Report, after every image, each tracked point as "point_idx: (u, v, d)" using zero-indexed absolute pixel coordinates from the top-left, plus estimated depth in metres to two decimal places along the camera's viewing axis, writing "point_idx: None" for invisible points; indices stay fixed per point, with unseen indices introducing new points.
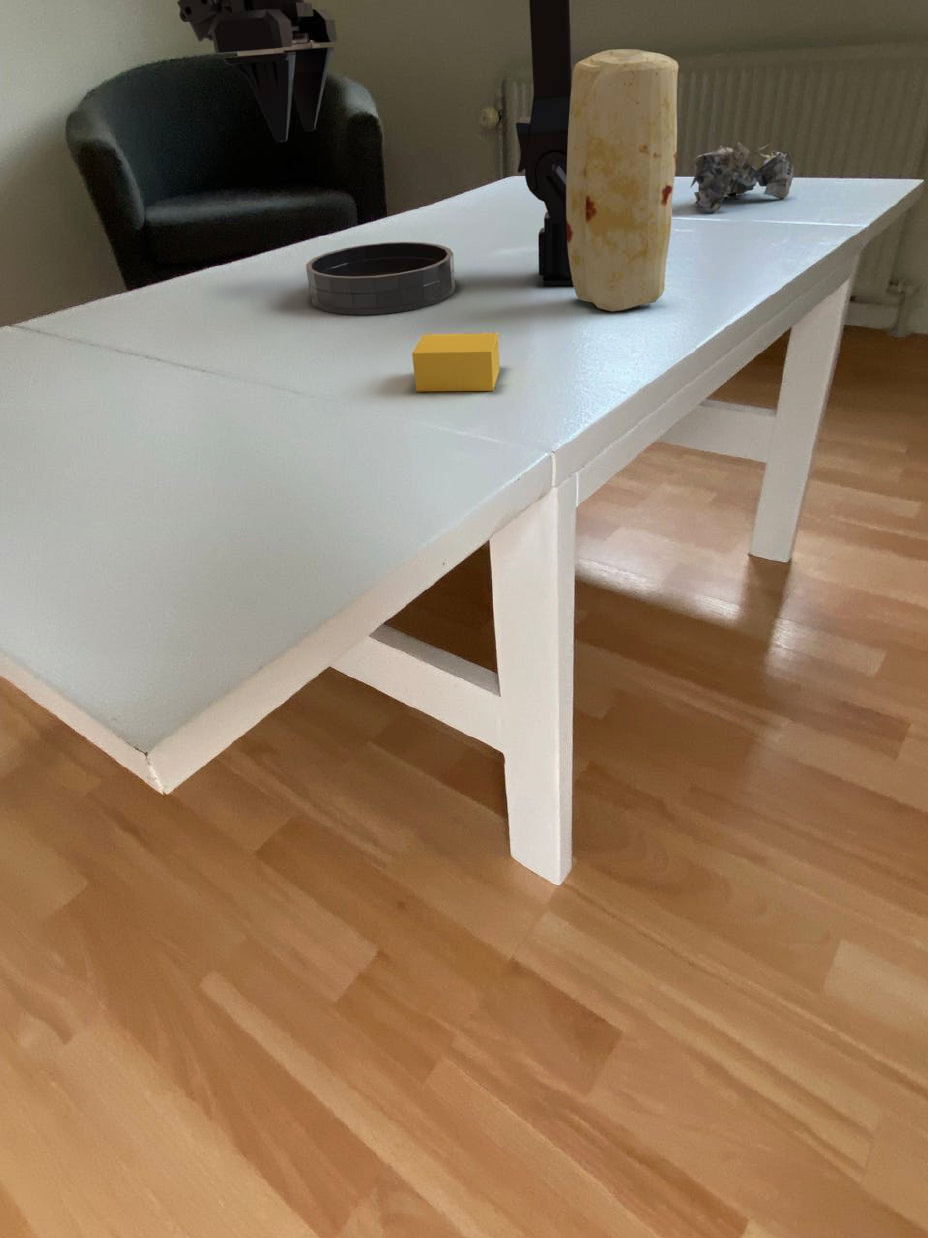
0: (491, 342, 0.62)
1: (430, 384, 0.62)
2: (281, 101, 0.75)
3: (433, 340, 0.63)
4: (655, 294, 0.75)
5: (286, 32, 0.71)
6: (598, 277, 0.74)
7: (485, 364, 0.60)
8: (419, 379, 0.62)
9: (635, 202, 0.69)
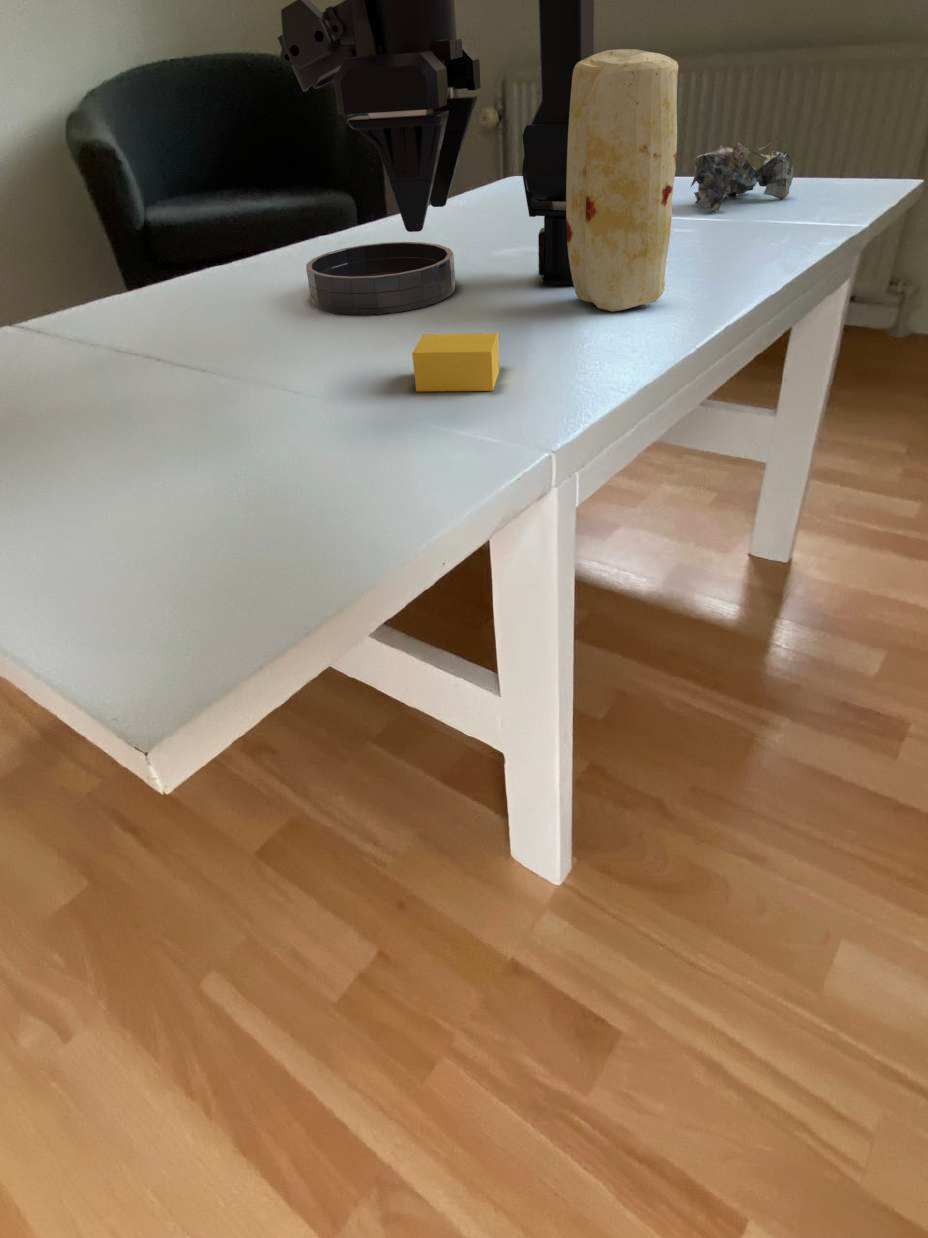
0: (491, 342, 0.62)
1: (430, 384, 0.62)
2: (422, 179, 0.53)
3: (433, 340, 0.63)
4: (655, 294, 0.75)
5: (442, 85, 0.48)
6: (598, 277, 0.74)
7: (485, 364, 0.60)
8: (419, 379, 0.62)
9: (635, 202, 0.69)
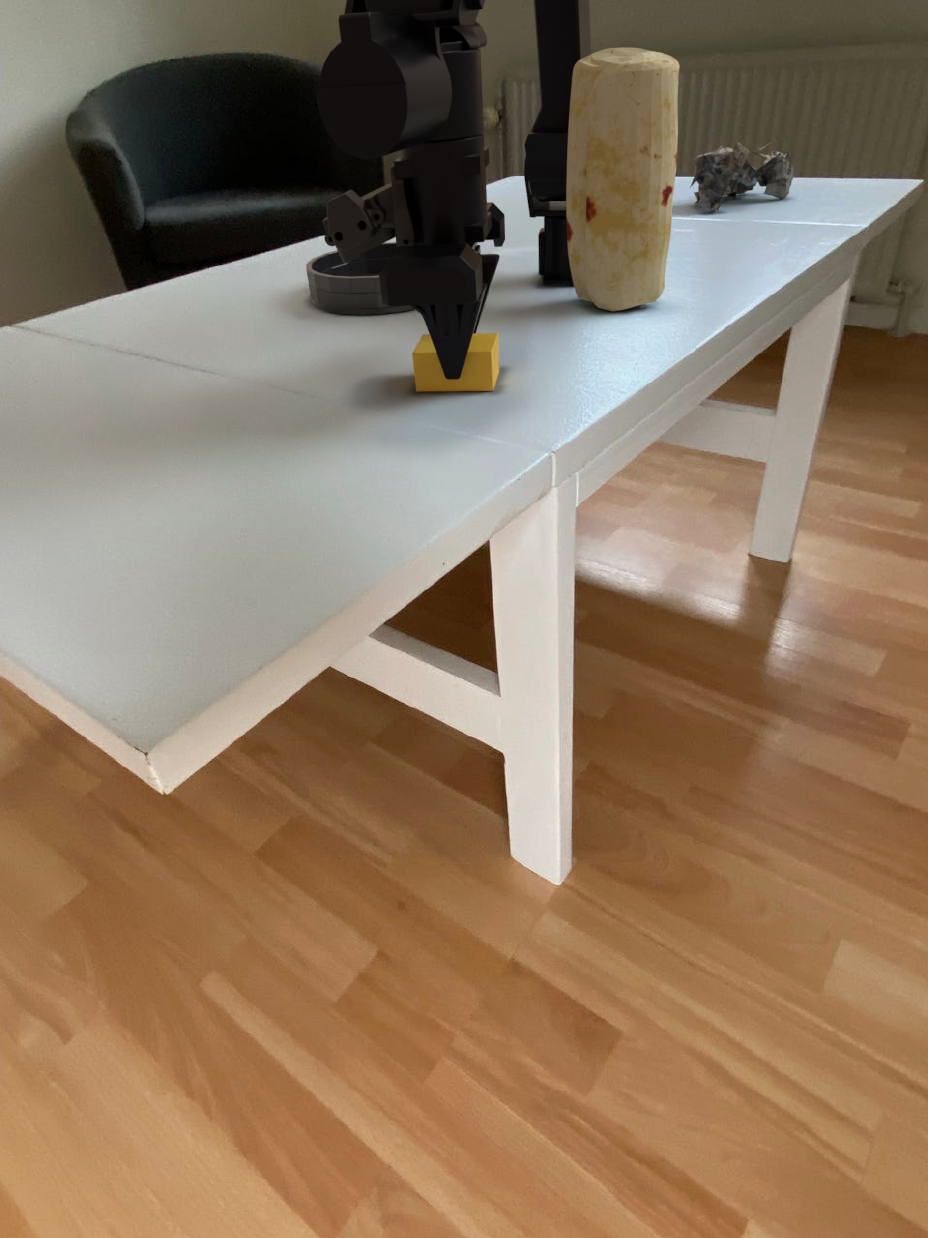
0: (491, 342, 0.62)
1: (430, 384, 0.62)
2: (461, 339, 0.58)
3: None
4: (655, 294, 0.75)
5: (479, 277, 0.52)
6: (598, 277, 0.74)
7: (485, 364, 0.60)
8: (419, 379, 0.62)
9: (635, 203, 0.69)
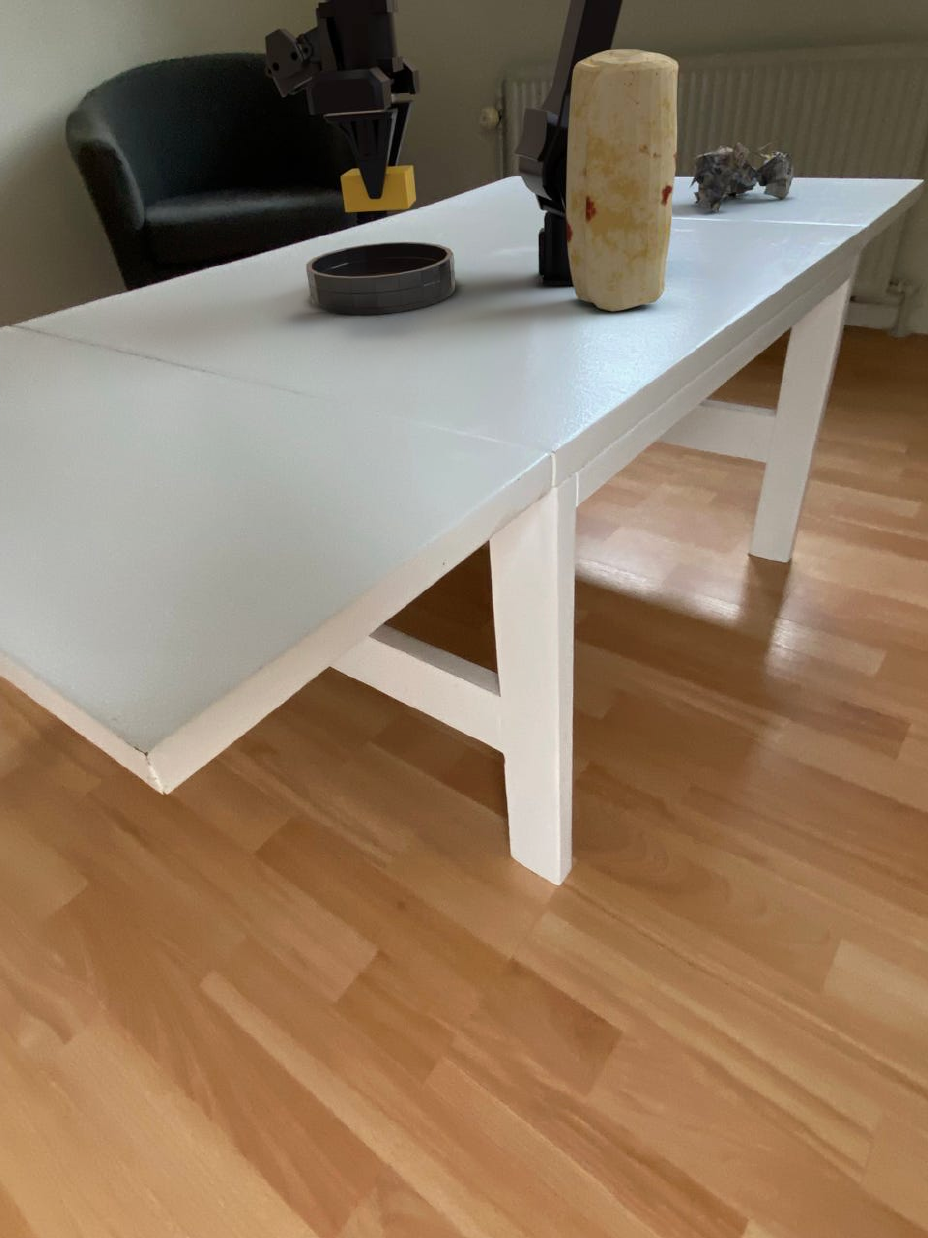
0: (406, 168, 0.75)
1: (356, 205, 0.75)
2: (379, 159, 0.72)
3: None
4: (655, 294, 0.75)
5: (387, 92, 0.66)
6: (598, 277, 0.74)
7: (400, 184, 0.74)
8: (347, 200, 0.75)
9: (635, 202, 0.69)
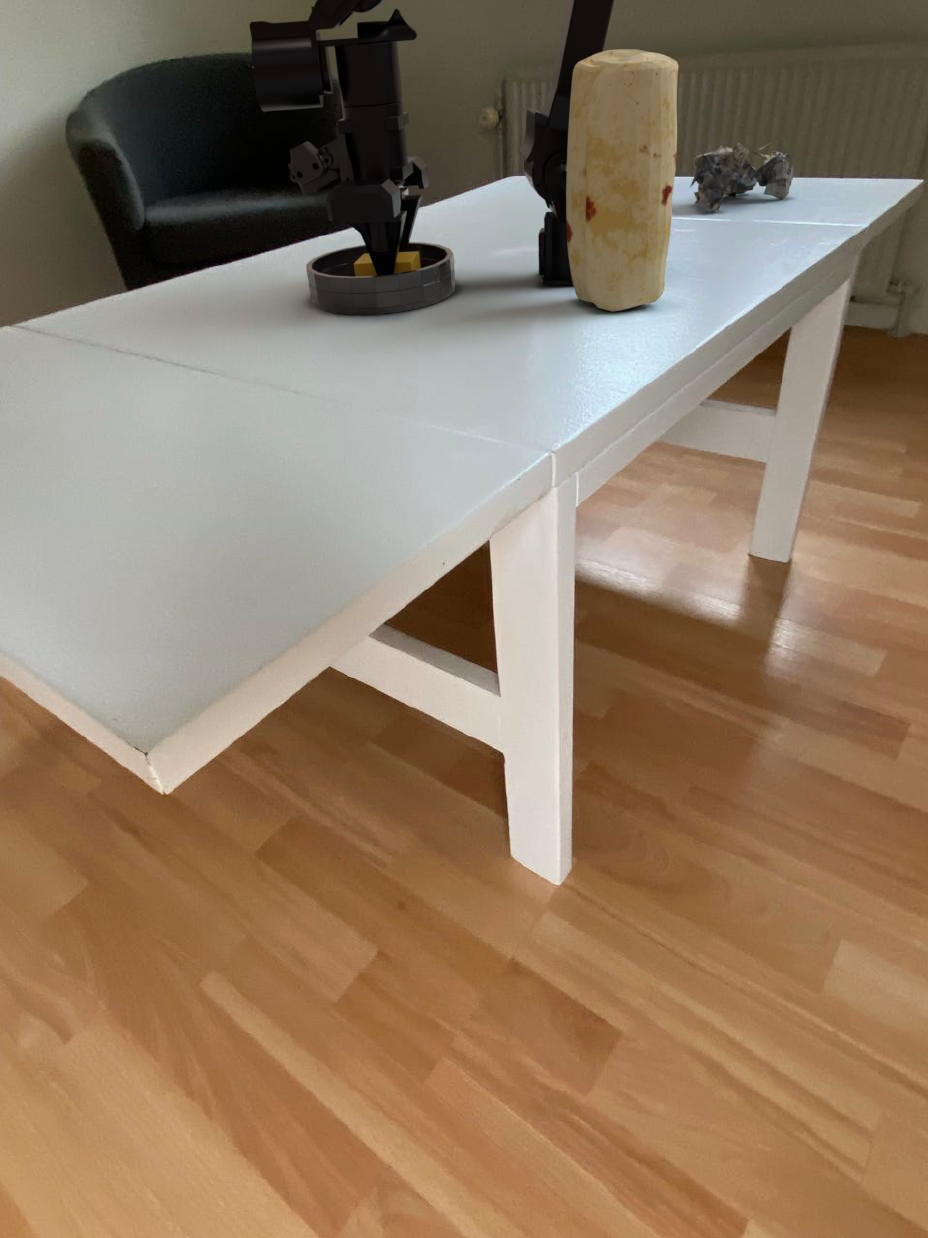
0: (412, 256, 0.83)
1: None
2: (390, 252, 0.80)
3: None
4: (655, 294, 0.75)
5: (396, 201, 0.74)
6: (598, 277, 0.74)
7: None
8: None
9: (635, 202, 0.69)
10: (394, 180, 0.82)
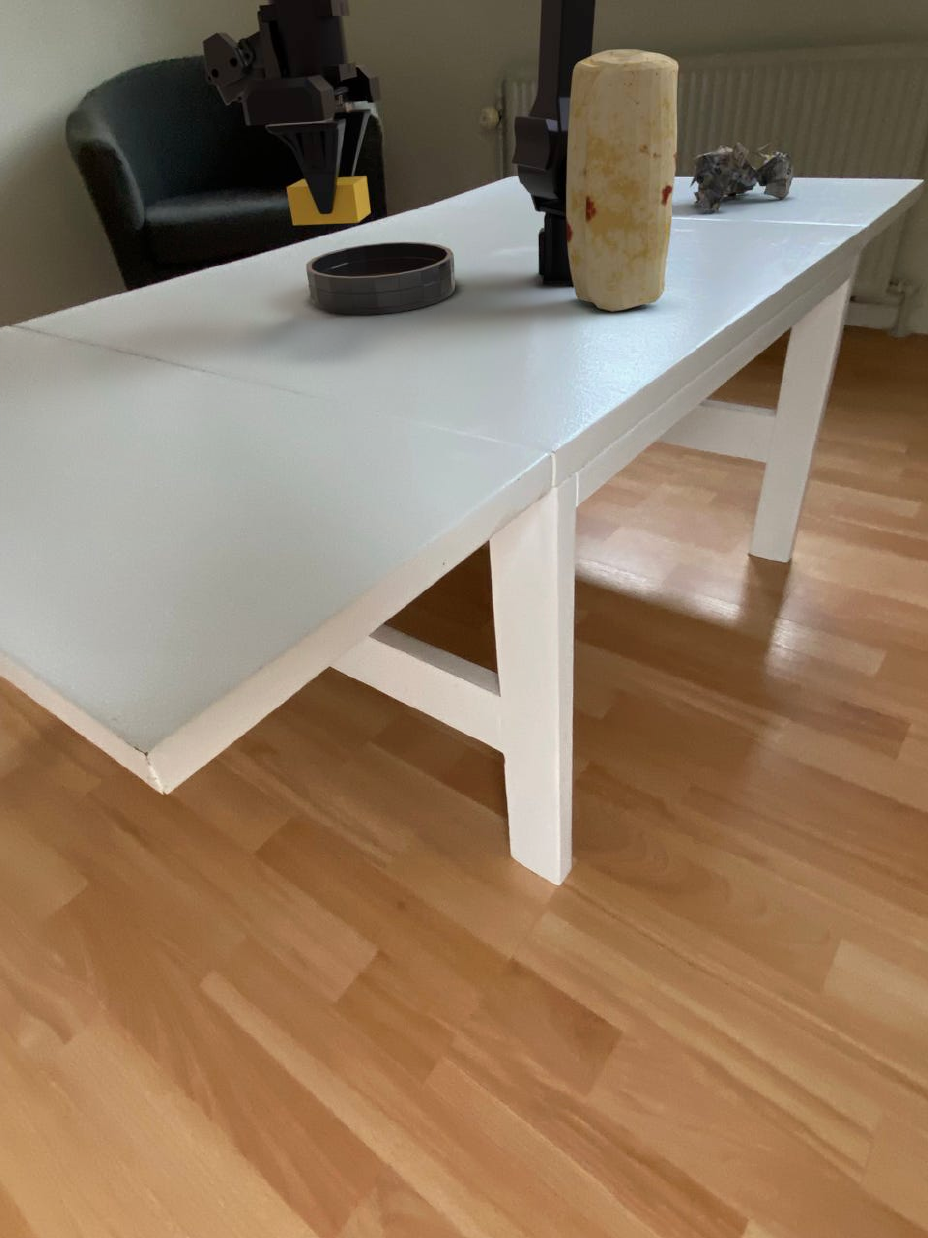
0: (357, 179, 0.70)
1: (304, 217, 0.71)
2: (328, 172, 0.67)
3: None
4: (655, 294, 0.75)
5: (328, 102, 0.61)
6: (598, 277, 0.74)
7: (349, 197, 0.69)
8: (294, 213, 0.71)
9: (635, 202, 0.69)
10: (335, 88, 0.69)
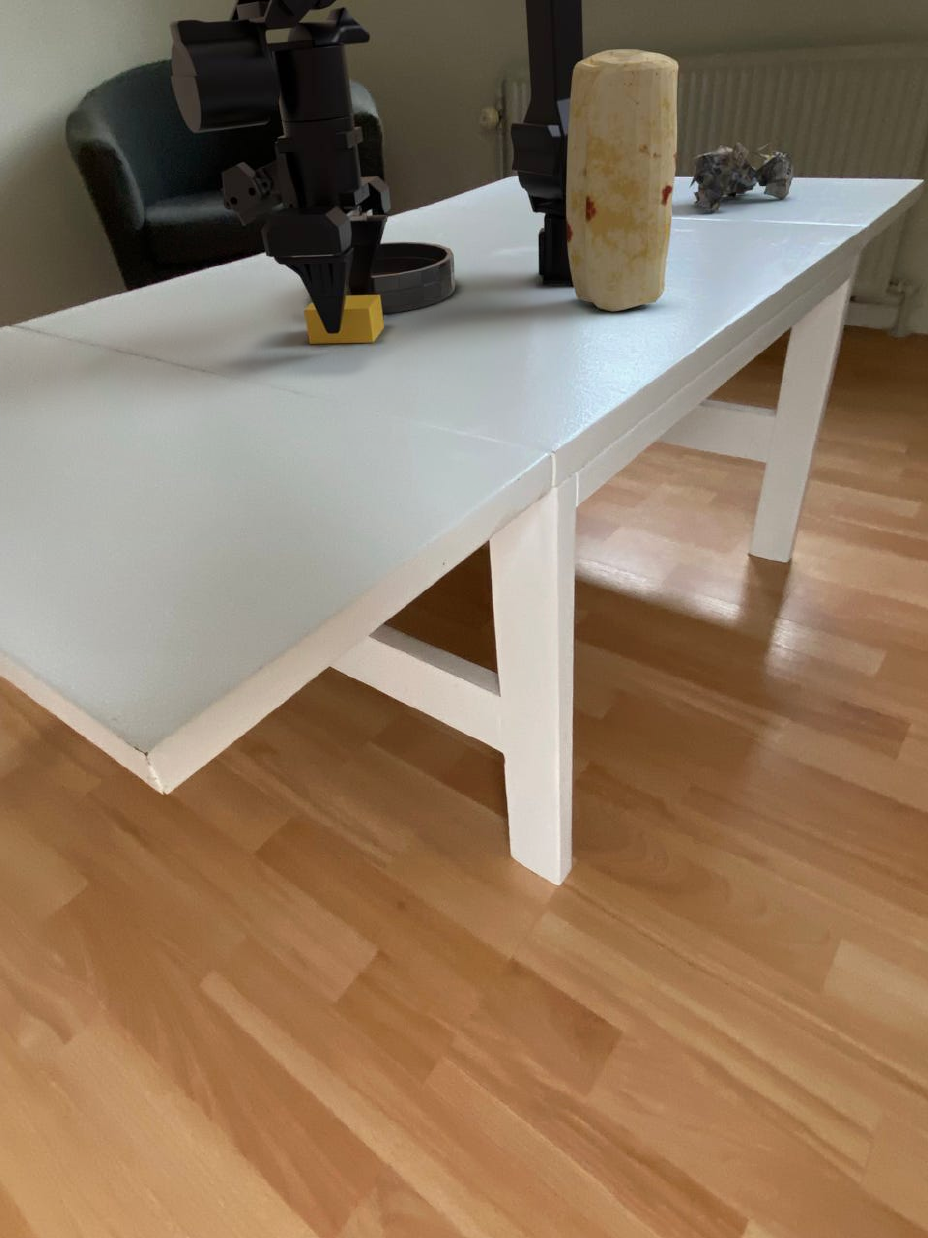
0: (371, 301, 0.73)
1: (321, 337, 0.73)
2: (336, 297, 0.68)
3: None
4: (655, 294, 0.75)
5: (345, 233, 0.63)
6: (598, 277, 0.74)
7: (364, 319, 0.72)
8: (311, 333, 0.73)
9: (635, 202, 0.69)
10: (341, 210, 0.69)
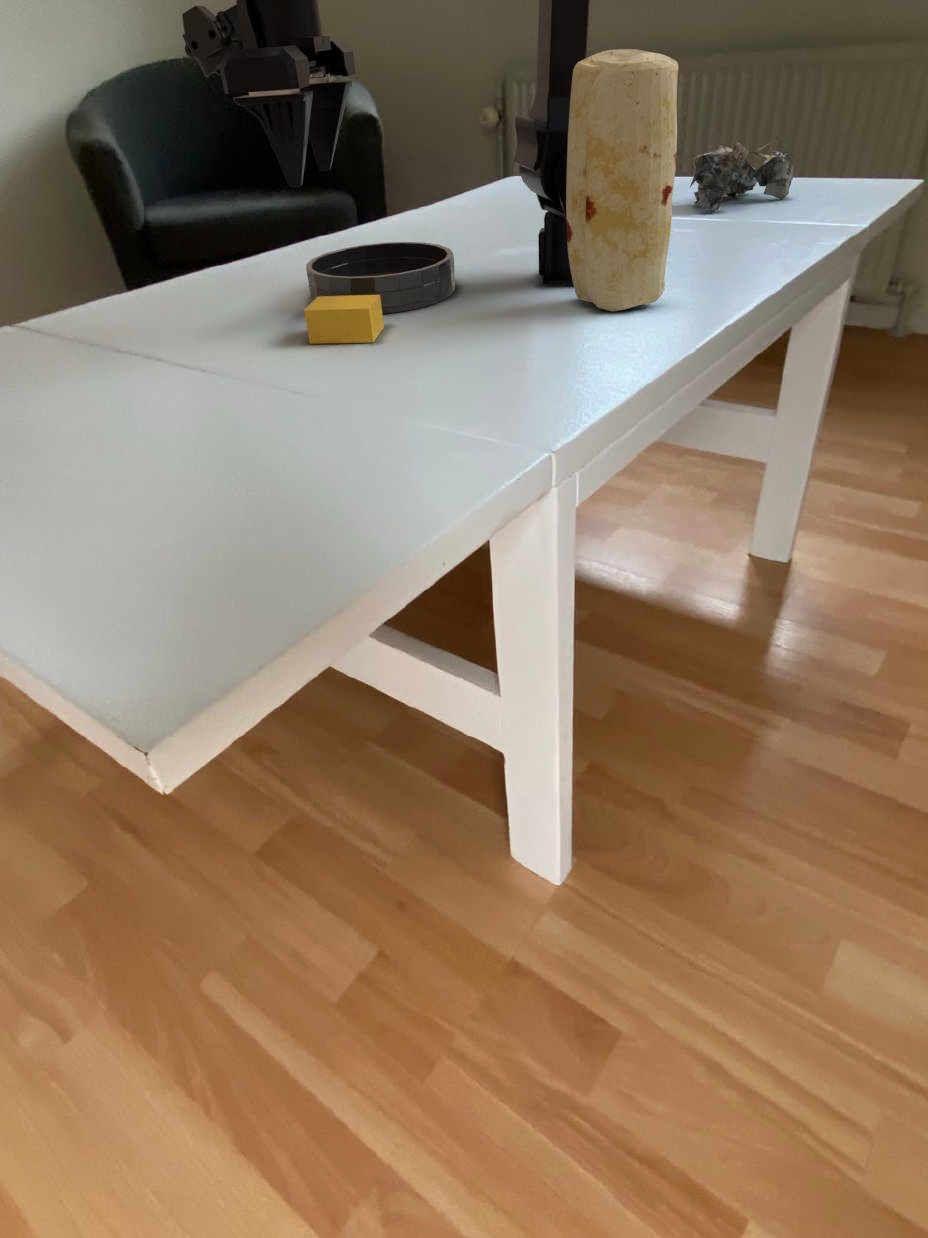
0: (371, 301, 0.73)
1: (321, 337, 0.73)
2: (296, 144, 0.68)
3: (324, 300, 0.74)
4: (655, 294, 0.75)
5: (303, 71, 0.64)
6: (598, 277, 0.74)
7: (364, 319, 0.72)
8: (311, 333, 0.73)
9: (635, 202, 0.69)
10: None
